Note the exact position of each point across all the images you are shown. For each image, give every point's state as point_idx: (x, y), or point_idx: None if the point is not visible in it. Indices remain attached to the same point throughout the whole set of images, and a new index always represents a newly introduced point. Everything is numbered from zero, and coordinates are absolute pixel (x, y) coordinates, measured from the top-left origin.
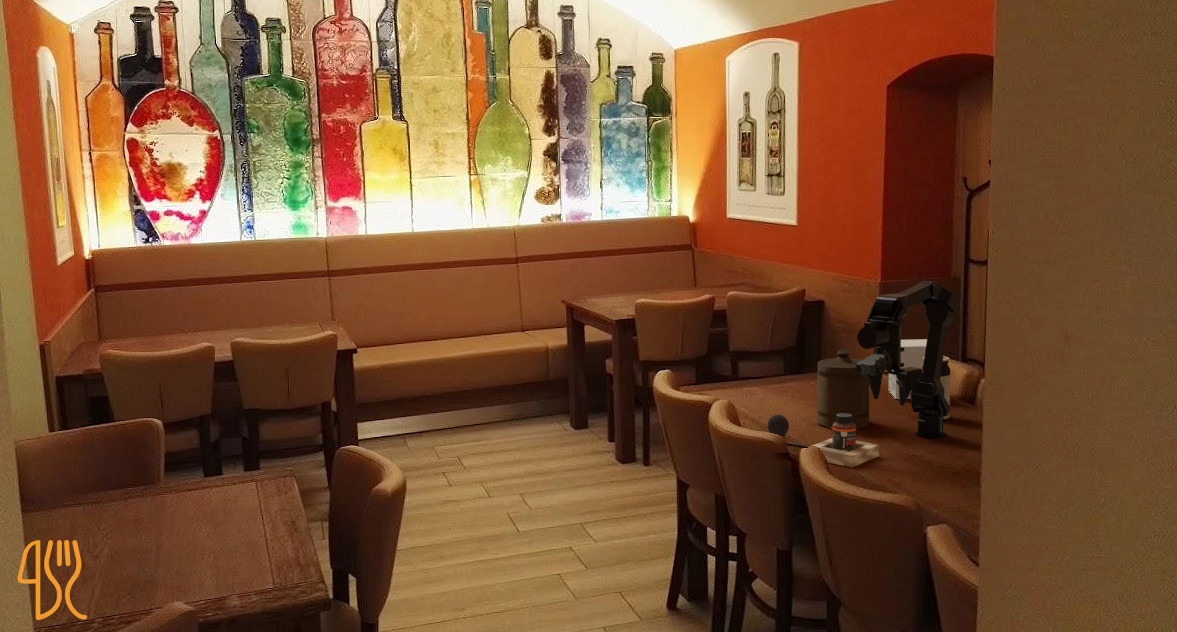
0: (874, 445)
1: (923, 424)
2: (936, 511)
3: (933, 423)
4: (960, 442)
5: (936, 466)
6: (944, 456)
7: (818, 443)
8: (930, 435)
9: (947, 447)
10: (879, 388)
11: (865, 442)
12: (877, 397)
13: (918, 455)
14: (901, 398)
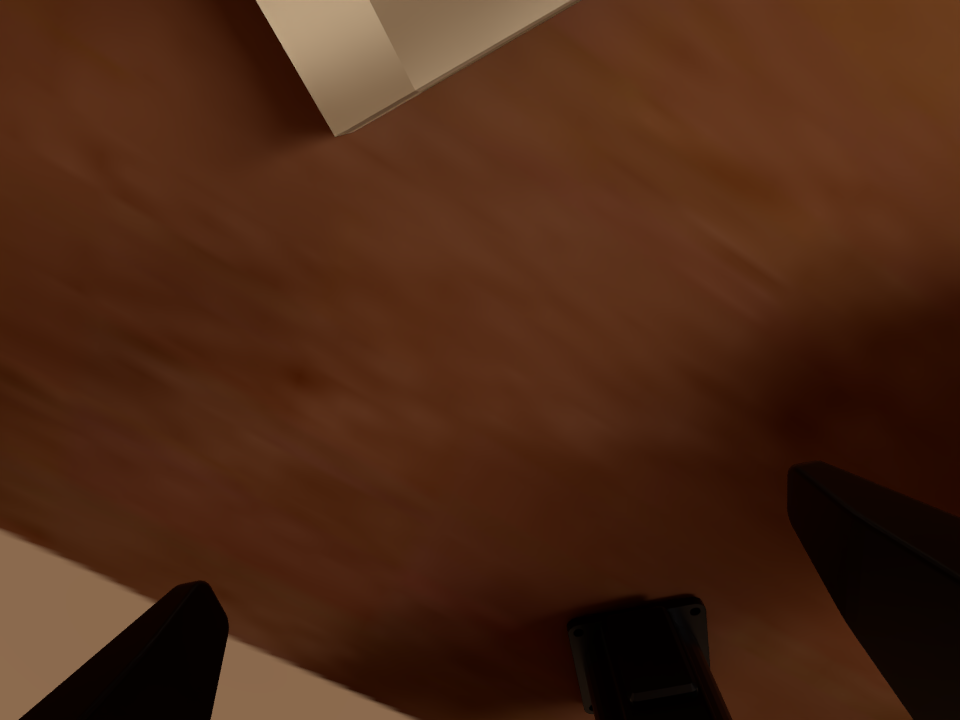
0: (329, 81)
1: (637, 672)
2: None
3: (607, 718)
4: (451, 692)
5: (9, 361)
6: (223, 511)
7: None
8: (598, 638)
9: (390, 607)
10: (924, 716)
11: (459, 59)
12: (800, 523)
13: (287, 396)
14: (53, 695)
